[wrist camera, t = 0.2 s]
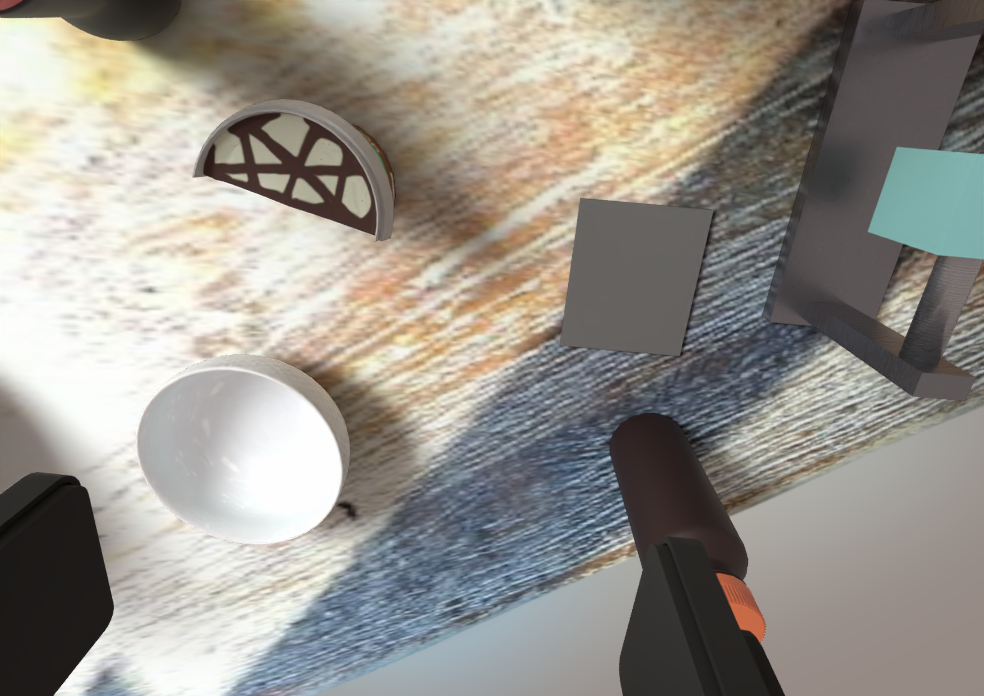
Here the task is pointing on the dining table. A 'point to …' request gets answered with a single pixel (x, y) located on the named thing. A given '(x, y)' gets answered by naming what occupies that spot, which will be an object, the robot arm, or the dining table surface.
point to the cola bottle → (100, 15)
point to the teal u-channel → (933, 202)
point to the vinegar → (679, 504)
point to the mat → (633, 276)
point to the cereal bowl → (244, 449)
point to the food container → (304, 163)
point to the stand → (879, 192)
